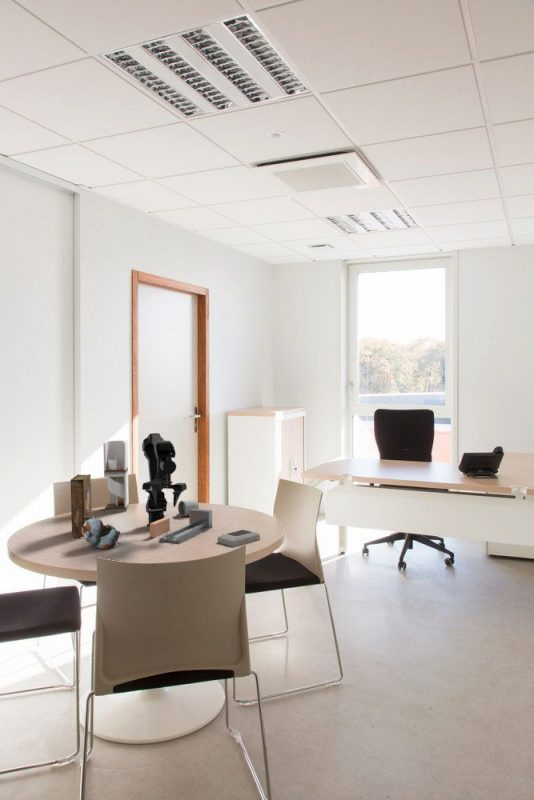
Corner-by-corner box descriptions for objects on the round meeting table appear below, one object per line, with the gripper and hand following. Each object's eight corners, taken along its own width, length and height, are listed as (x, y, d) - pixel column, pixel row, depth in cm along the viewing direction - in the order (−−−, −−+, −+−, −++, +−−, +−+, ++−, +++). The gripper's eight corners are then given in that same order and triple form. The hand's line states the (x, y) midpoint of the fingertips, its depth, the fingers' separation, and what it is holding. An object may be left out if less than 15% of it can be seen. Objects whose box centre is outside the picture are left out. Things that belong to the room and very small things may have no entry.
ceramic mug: (200, 515, 309) (199, 499, 309) (185, 517, 304) (185, 501, 304) (188, 512, 317) (188, 496, 317) (174, 514, 312) (174, 499, 312)
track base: (159, 541, 261) (158, 522, 261) (192, 525, 287) (192, 508, 287) (180, 543, 257) (179, 524, 257) (212, 527, 283) (212, 510, 283)
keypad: (217, 534, 258) (244, 528, 269) (217, 543, 258) (244, 536, 269) (233, 538, 251) (259, 531, 262) (233, 547, 252) (260, 540, 262)
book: (84, 538, 268) (83, 479, 267) (71, 538, 267) (69, 480, 266) (91, 528, 284) (90, 473, 283) (79, 529, 284) (78, 474, 283)
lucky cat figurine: (115, 550, 248) (97, 522, 244) (89, 561, 250) (71, 533, 246) (124, 530, 262) (107, 503, 258) (99, 541, 264) (82, 514, 260)
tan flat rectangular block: (149, 537, 268) (149, 523, 268) (165, 531, 279) (164, 517, 279) (154, 538, 267) (154, 524, 267) (169, 531, 278) (169, 518, 278)
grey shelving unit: (108, 507, 330) (106, 440, 329) (128, 506, 331) (127, 440, 330) (104, 512, 319) (103, 443, 317) (126, 511, 320) (124, 442, 319)
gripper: (135, 472, 267) (136, 509, 268) (176, 474, 262) (176, 511, 263) (147, 468, 278) (148, 503, 279) (186, 470, 273) (187, 505, 273)
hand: (164, 506), depth 273 cm, fingers open, 9 cm apart
